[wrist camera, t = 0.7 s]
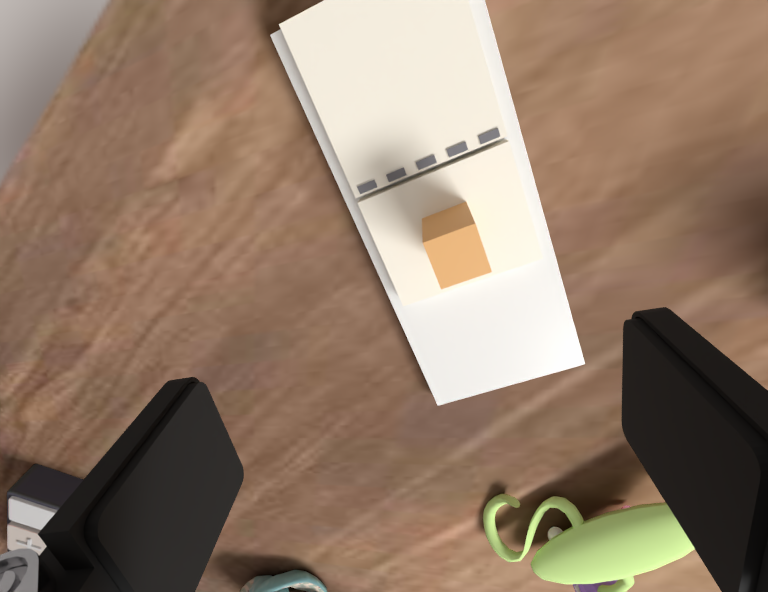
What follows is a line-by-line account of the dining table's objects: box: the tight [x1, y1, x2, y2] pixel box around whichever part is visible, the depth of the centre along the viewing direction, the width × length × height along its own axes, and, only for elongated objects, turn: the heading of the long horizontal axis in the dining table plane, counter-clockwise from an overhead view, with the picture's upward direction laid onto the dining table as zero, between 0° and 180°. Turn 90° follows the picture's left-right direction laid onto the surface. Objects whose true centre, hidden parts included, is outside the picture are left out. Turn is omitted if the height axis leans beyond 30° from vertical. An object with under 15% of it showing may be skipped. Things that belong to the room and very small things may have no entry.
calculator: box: [7, 464, 83, 555], centre depth 47 cm, size 11×4×15 cm
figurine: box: [483, 494, 695, 592], centre depth 40 cm, size 18×27×6 cm
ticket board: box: [270, 0, 585, 405], centre depth 30 cm, size 12×29×2 cm, turn 23°
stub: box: [358, 139, 543, 306], centre depth 27 cm, size 10×8×6 cm
